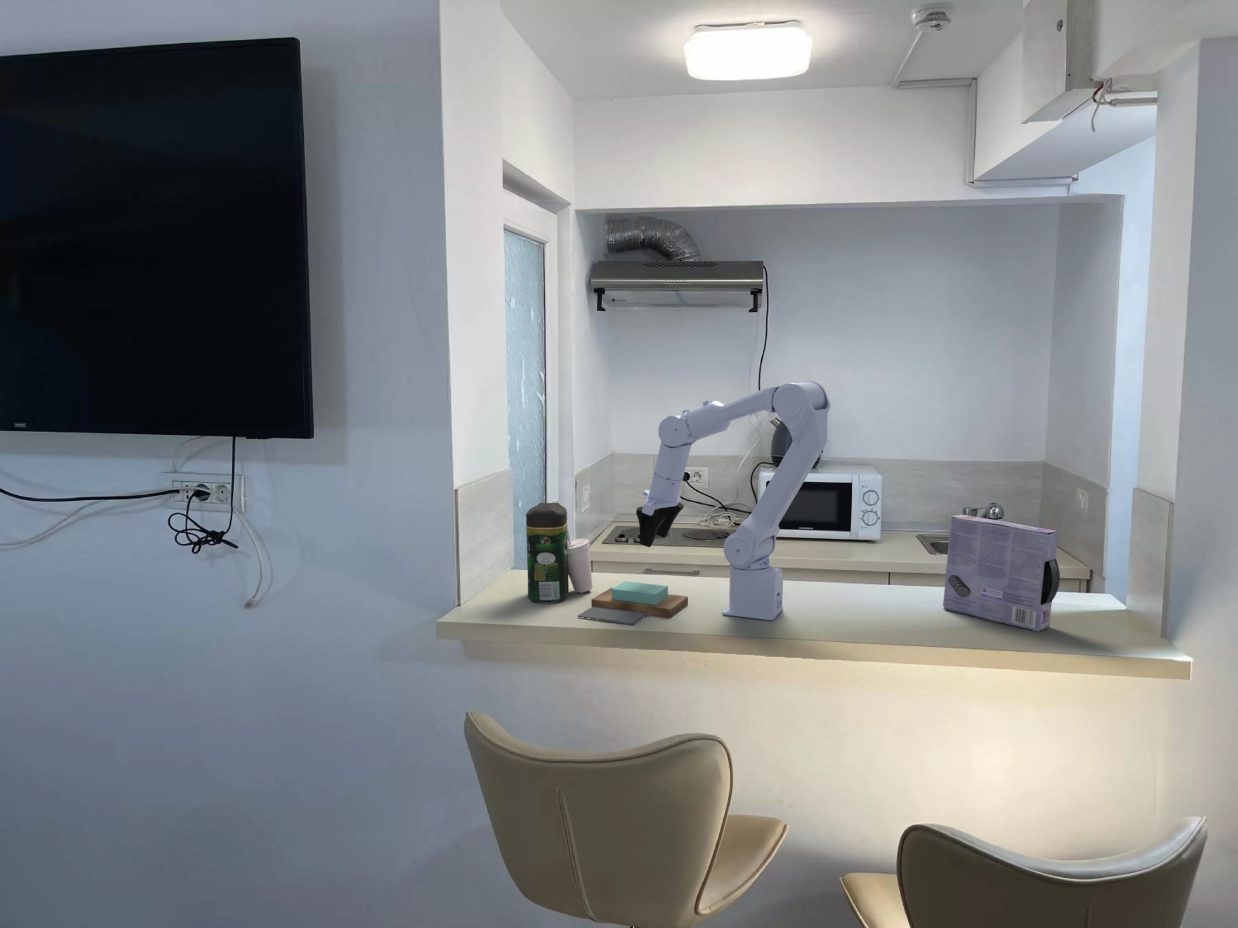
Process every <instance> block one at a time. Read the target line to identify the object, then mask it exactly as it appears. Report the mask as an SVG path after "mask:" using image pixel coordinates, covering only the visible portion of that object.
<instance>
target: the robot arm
mask: <svg viewBox="0 0 1238 928" xmlns="http://www.w3.org/2000/svg"><path fill="white" fill-rule="evenodd" d="M831 407H832V406H831V402H830V399H829V397H828V394H827V392H826V389H825V388H824V387H823V386H822V384H821V383H819V382H818V381H817V382H816V381H814V380H806V381H802V382H797V383H793V382H788V383H787V382H786V383H784V384H781V385H775V386H770V387H765V388H762V389H760V390H757V391H755V392H753V393H750V394H748V395H746V396H743V397H741V398H738V399H736V400H734V401H731V402H729V403H726V404H724V403H722V402H721V401H719V400H714V401H713V400H712V399H708V400H705V401H703V402H702V405H701V406H698V407H695V408H692V409H690V408H686V409H683V410H681V412H682V413H681V414H680V415H667V417H666V418H664V419H662V421H660V423H659V426H658V430H657V431H658V437H659V439H660V444H659V450H658V454H657V457H656V462H655V467H654V470H653V475H652V479H651V484H650V488H649V489H645V490H643V492H642V496H645V497H646V501H644V503H643V504H642V505H643V506H639V507H637V508H636V511H635V513H636V517H637V521H638V525H639V545H641V546H645V547H647V548H651V547H652V545H653V544H654V540H655V538H656V536H658V537H660V538H661V537H662V538H663V539H665V538H666V537H667V535H668V533H669V531H671V528H672V526H673V523H674V522H675V521H676V518H678V517H677V516H678V515H679V514H680V513H681V512H682V510H683V509H684V507H685V506H684V504H683V503H681V502H679V501H680V499H681V496H682V495H681V494H682V491H681V488H682V484H683V480H684V475H685V471H686V468H687V464H688V460H689V457H690V456H689V455H690V451H691V448H692V446H693V444H695V443H696V442H697V441H699V440H701V439H704V438H707V437H711V436H713V435H716V434H719V433H721V432H724V431H727V430H728V429H729V427H730V424H731V422H732V421H734V420H738V419H741V418H744V417H747V416H750V415H754V414H756V413H760V412H764V411H766V412H767V413H769V414H775V413H776V414H777V415H778V417H779V418H780V420H781V421H782V422H783V424H784V426H786V428H787V430H788V431H789V435H790V437H791V439H792V440H791V441H792V442H791V444H790V446H789V448H788V450H787V451H786V453H785V455H784V456H783V458H782V459H781V462H780V463H779V465H778V467H777V468H776V470H775V472H774V474H773V476H772V477H771V479H770V480H769V482H768V483H767V486H766V487H765V489H764V491H763V493H762V494H761V496H760V498H759V500H758V502H757V503H756V505H755V507H754V509H753V510H752V512H751V514H750V515H749V516H748V517H747V518H746V519H744V520H743V522H741V524H740V525H739V526H738V528H737V529H736V531H735V532H734V533H733V532H732V533H731V534H730V535H728V536H727V537H726V538H725V540H724V543H723V547H722V548H723V554H724V557H725V559H726V561H727V562H729V606H727V607H726V608H725V609H724V610H723V611H722V612H721V614H722V615H724V616H731V617H742V618H748V619H756V620H757V619H758V620H764V621H766V620H767V621H773V620H774V619H776V617H777V616H778V615H779V614H780V613H781V612H782V611H783V610H784V607H783V593H784V592H783V591H784V590H783V587H784V586H783V584H784V579H783V578H784V577H783V570H782V569H781V568H778V567H775V566H771V565H770V556H771V555H772V554H773V553H774V551H775V548H776V541H777V536H778V534H779V533H780V531H781V529H780V527H779V525H780V522H781V521H782V519H783V517H784V516H785V514H786V513H787V511H788V510H789V507H790V505H791V504H792V503H793V501H794V499H795V497H796V495H797V494H798V493H799V491H800V489H801V487H802V485H803V483H804V482H806V479H807V478H808V475H809V474H810V472H811V470H812V469H813V467H814V465H815V463H816V462H817V460H818V458H819V457H820V455H821V453H822V452H823V450H824V448H825V447H826V444H827V441H828V438H827V437H828V414H829V411H830V409H831Z"/></svg>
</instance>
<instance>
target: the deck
mask: <svg viewBox="0 0 1238 928" xmlns="http://www.w3.org/2000/svg"><path fill="white" fill-rule="evenodd" d="M612 588H613V587H610V588H609V589H607V590H605V591H603V592H601V593H599V594H598V595H596V596H594V597H593V598H591V599H590V600H591V601H590V602H591V606H592V607H593V606H597V607H605V608H612V609H620V610H628V611H636V612H644V613H647V616H654V617H661V618H669V619H670V618H672V617H674V616H675V615H677V613H679V612H680V611H681V610H683V609H684V608H685V607H687V606H688V605H689V596H687V595H677V594H671V593H670V594H669V593H668V597H666V598H665V599H664V600H662V601H661V602H659V603H658V604H656V605H653V604H645V603H637V602H629V601H621V600H613V599H612ZM591 606H590V607H591Z"/></svg>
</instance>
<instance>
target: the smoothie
mask: <svg viewBox="0 0 1238 928" xmlns="http://www.w3.org/2000/svg"><path fill="white" fill-rule="evenodd" d="M569 530H570V529H569V526H568V525H567V541H568V549H567V552H568V578H569V579H570V582H571V585H572V588H573V590H574V592H575V591H576V592H575V593H577V592H579V593H581V594H582V593H585V592H589V591H590V590H592V589H593V588H594V587H593V578H592V567H591V558H590V549H589V547H590V546H591V544H590V540H589V539H588V538H582V537H581V538H573V539H571V534H570V531H569ZM579 593H578V594H579Z"/></svg>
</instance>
